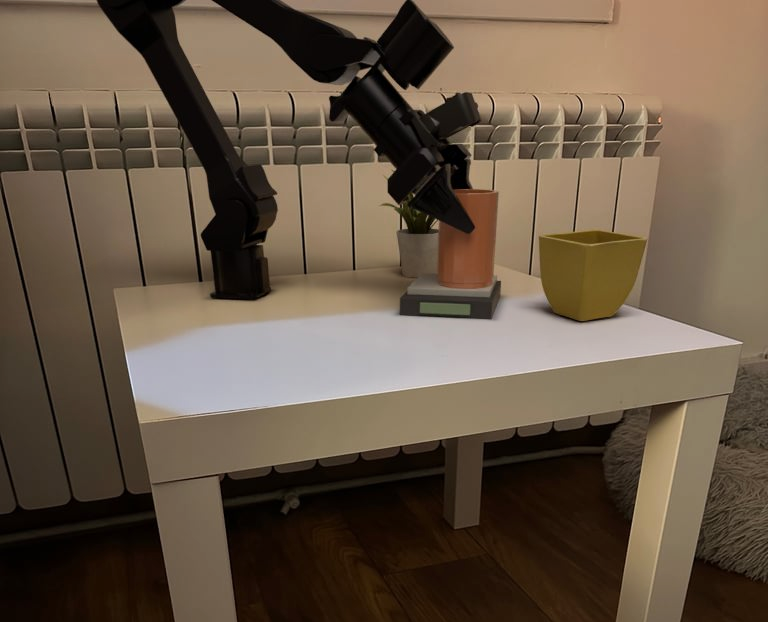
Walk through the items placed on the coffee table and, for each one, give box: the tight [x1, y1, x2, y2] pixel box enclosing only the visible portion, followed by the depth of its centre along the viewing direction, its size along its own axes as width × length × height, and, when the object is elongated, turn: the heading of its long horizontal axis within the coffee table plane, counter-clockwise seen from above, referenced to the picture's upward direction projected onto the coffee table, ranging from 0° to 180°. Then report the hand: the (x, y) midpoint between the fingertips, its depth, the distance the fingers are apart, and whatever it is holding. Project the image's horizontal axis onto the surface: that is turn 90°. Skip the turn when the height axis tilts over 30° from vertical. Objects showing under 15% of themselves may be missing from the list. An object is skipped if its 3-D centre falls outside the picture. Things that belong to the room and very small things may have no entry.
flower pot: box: [538, 229, 648, 322], centre depth 84 cm, size 9×9×9 cm
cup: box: [437, 188, 500, 289], centre depth 88 cm, size 7×7×10 cm
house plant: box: [379, 169, 439, 279], centre depth 106 cm, size 14×14×16 cm
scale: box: [399, 273, 502, 320], centre depth 91 cm, size 11×13×3 cm
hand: (478, 226), depth 87 cm, fingers open, 7 cm apart
